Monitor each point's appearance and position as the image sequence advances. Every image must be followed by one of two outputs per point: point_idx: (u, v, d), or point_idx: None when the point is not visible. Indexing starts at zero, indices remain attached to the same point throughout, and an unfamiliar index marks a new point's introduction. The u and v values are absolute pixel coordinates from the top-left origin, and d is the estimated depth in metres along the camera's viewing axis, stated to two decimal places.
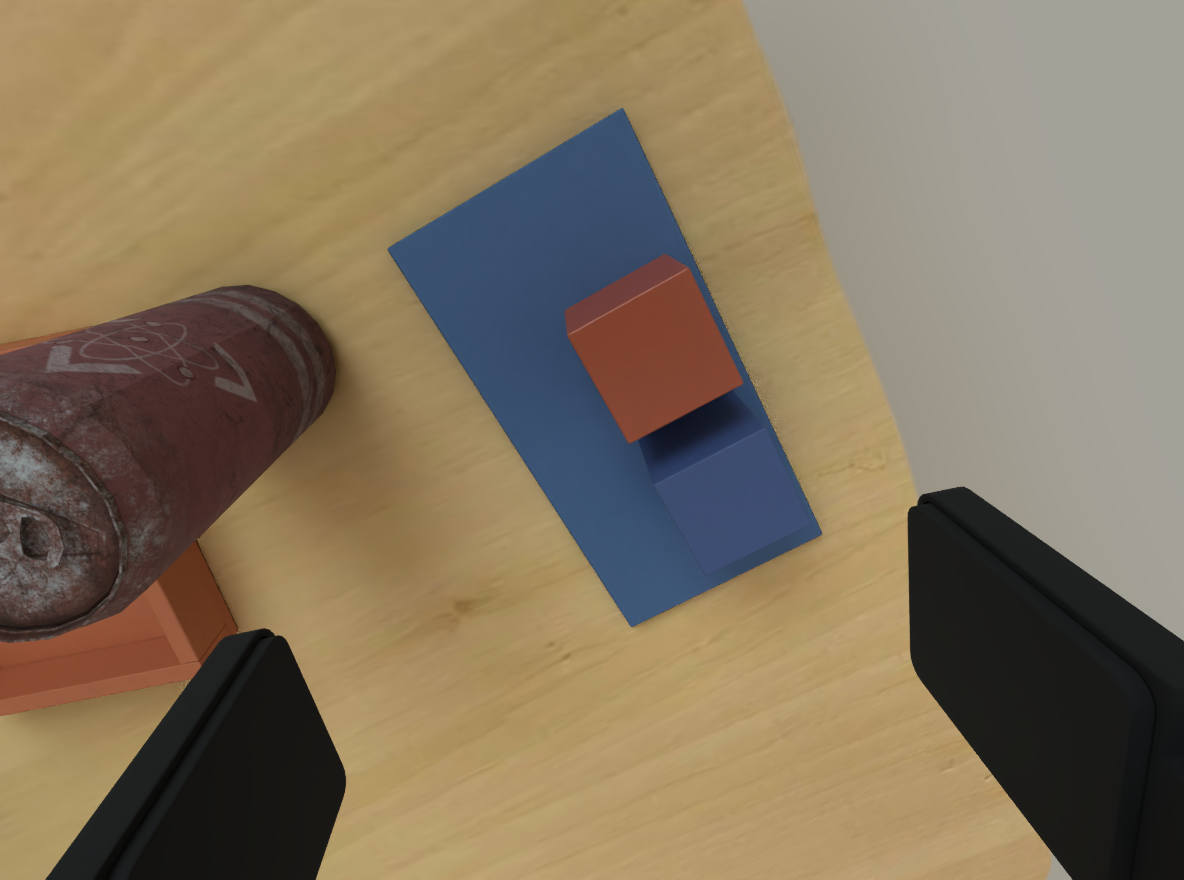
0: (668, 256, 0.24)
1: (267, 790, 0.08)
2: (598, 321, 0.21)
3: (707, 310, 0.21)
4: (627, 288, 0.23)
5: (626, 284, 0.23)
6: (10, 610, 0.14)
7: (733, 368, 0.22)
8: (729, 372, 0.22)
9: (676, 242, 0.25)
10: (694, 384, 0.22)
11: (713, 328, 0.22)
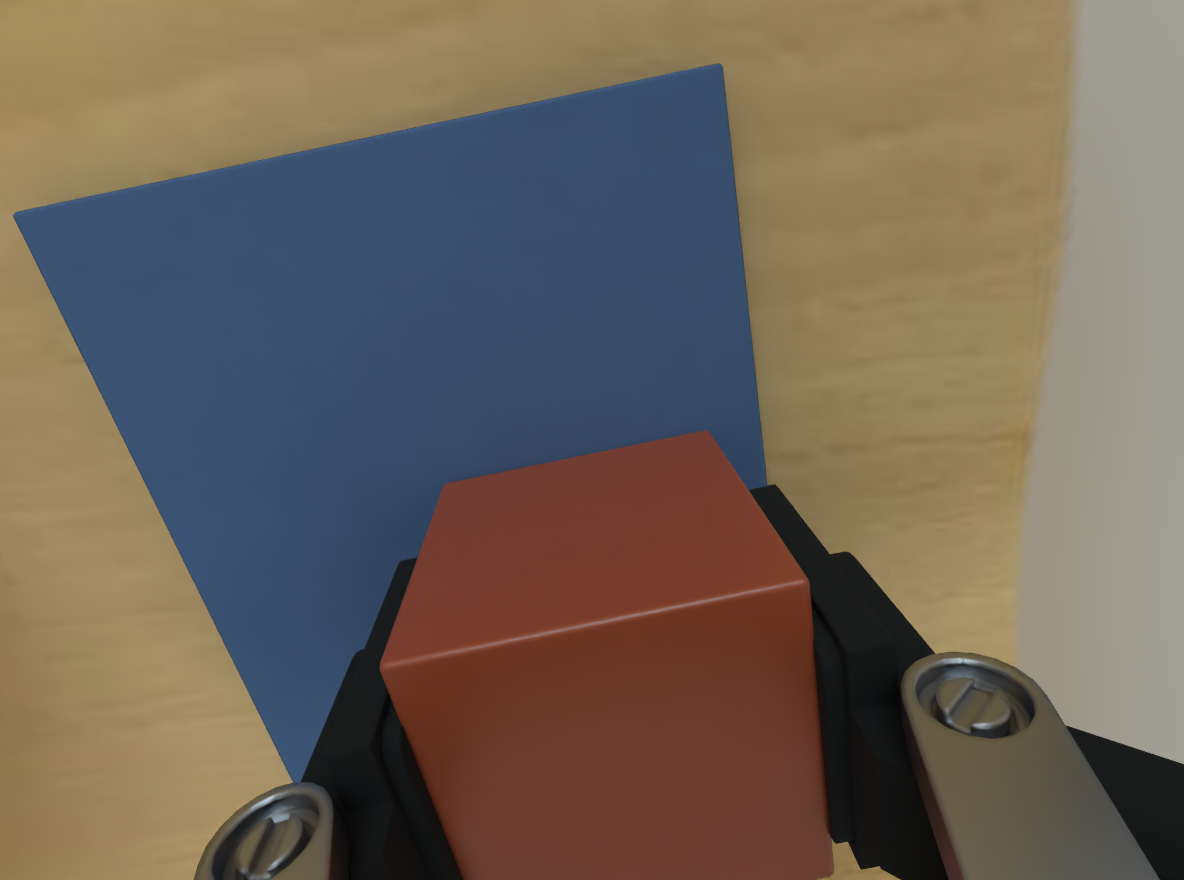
0: (719, 450, 0.10)
1: None
2: (487, 654, 0.07)
3: (815, 698, 0.07)
4: (603, 528, 0.08)
5: (603, 500, 0.09)
6: None
7: (824, 842, 0.08)
8: (810, 847, 0.08)
9: (740, 413, 0.11)
10: (709, 857, 0.08)
11: (813, 745, 0.07)
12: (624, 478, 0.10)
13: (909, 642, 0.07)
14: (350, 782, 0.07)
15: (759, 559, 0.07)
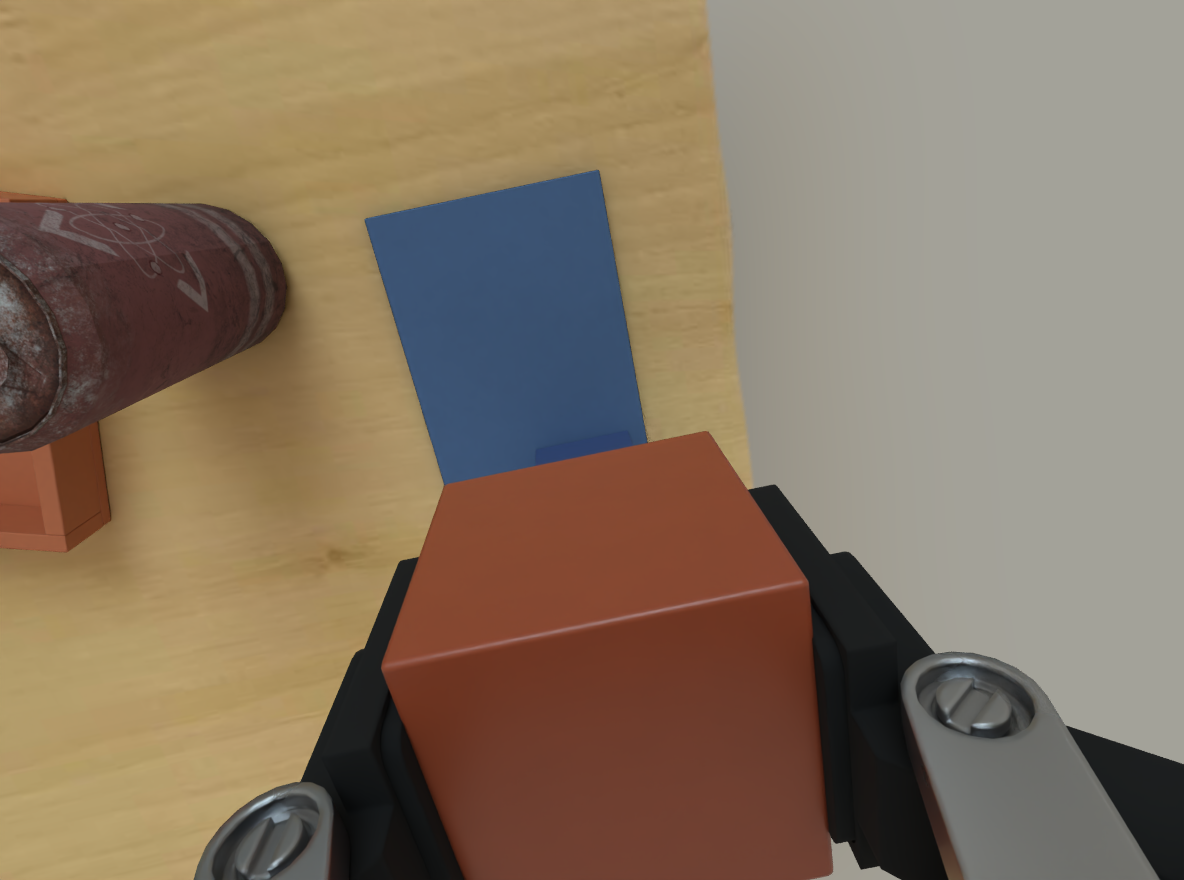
0: (719, 451, 0.10)
1: None
2: (489, 655, 0.07)
3: (814, 698, 0.07)
4: (604, 528, 0.08)
5: (603, 501, 0.09)
6: None
7: (823, 841, 0.08)
8: (809, 847, 0.08)
9: (613, 292, 0.29)
10: (708, 856, 0.08)
11: (811, 745, 0.07)
12: (624, 479, 0.10)
13: (910, 642, 0.07)
14: (350, 782, 0.07)
15: (759, 560, 0.07)
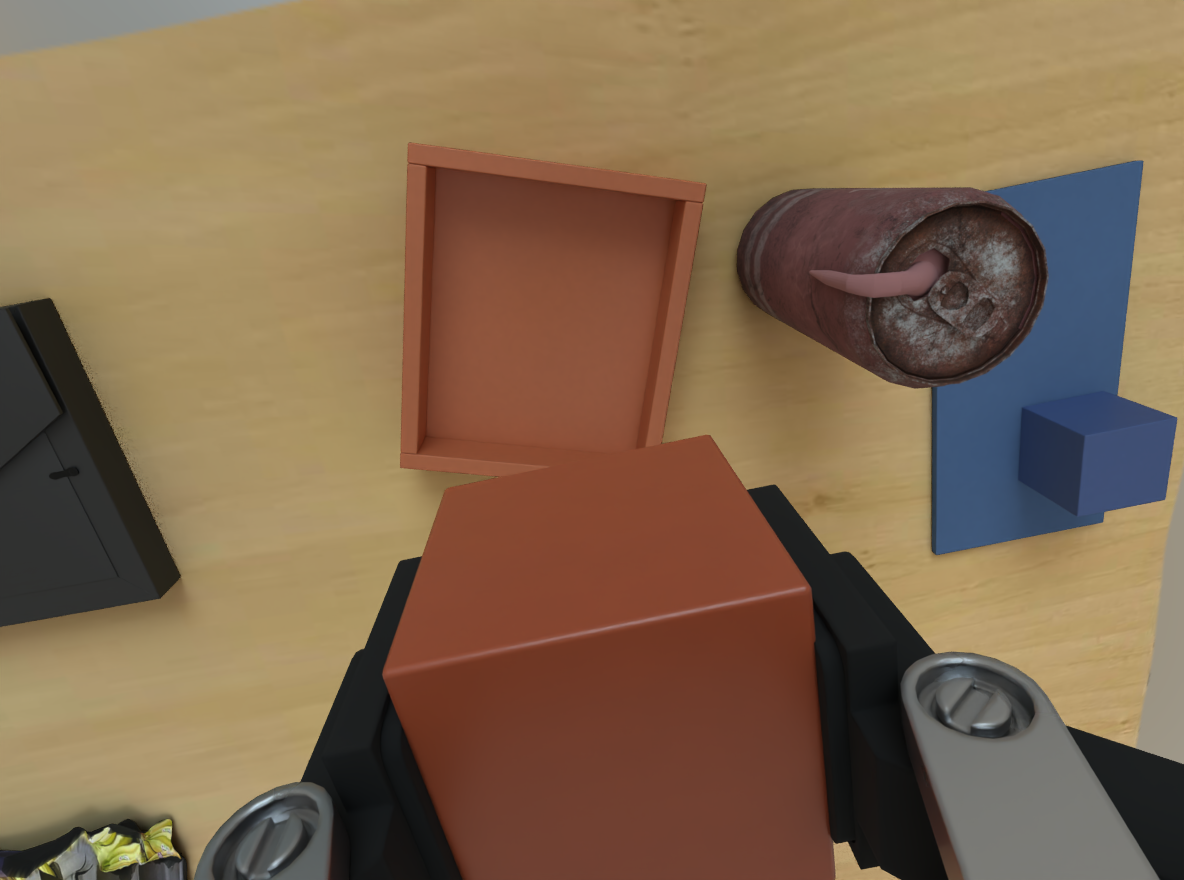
0: (721, 455, 0.10)
1: None
2: (490, 662, 0.07)
3: (816, 704, 0.07)
4: (605, 533, 0.08)
5: (605, 505, 0.09)
6: (911, 358, 0.20)
7: (826, 848, 0.08)
8: (812, 853, 0.08)
9: (1125, 268, 0.33)
10: (710, 862, 0.08)
11: (814, 751, 0.07)
12: (626, 483, 0.10)
13: (909, 642, 0.07)
14: (350, 782, 0.07)
15: (761, 566, 0.07)
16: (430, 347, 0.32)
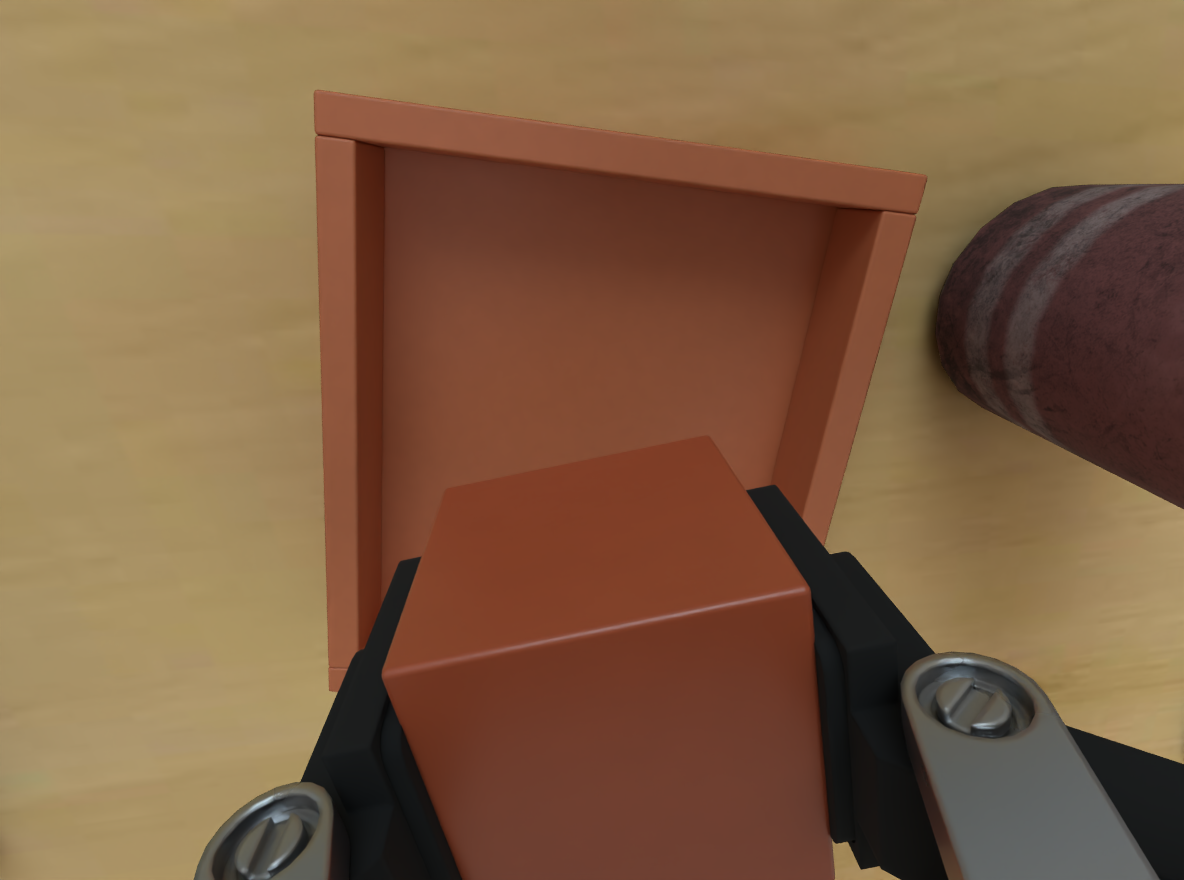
0: (720, 455, 0.10)
1: None
2: (489, 662, 0.07)
3: (816, 705, 0.07)
4: (604, 534, 0.08)
5: (604, 506, 0.09)
6: None
7: (825, 848, 0.08)
8: (811, 854, 0.08)
9: None
10: (710, 863, 0.08)
11: (813, 752, 0.07)
12: (625, 483, 0.10)
13: (910, 642, 0.07)
14: (350, 782, 0.07)
15: (760, 566, 0.07)
16: (384, 471, 0.18)
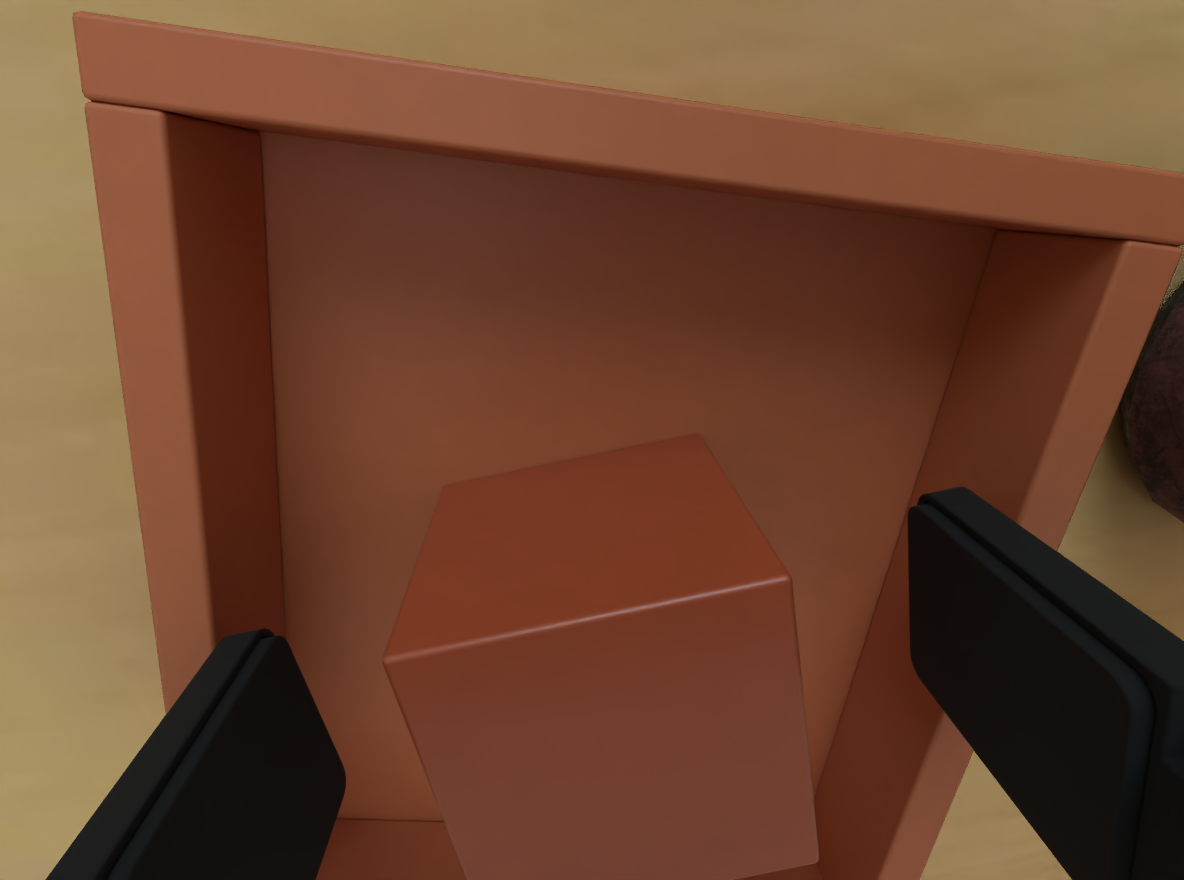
0: (710, 453, 0.10)
1: (267, 790, 0.08)
2: (485, 648, 0.07)
3: (798, 690, 0.07)
4: (597, 528, 0.09)
5: (597, 501, 0.09)
6: None
7: (809, 829, 0.08)
8: (795, 835, 0.08)
9: None
10: (698, 844, 0.08)
11: (796, 735, 0.08)
12: (618, 480, 0.10)
13: None
14: None
15: (745, 558, 0.07)
16: (288, 627, 0.12)
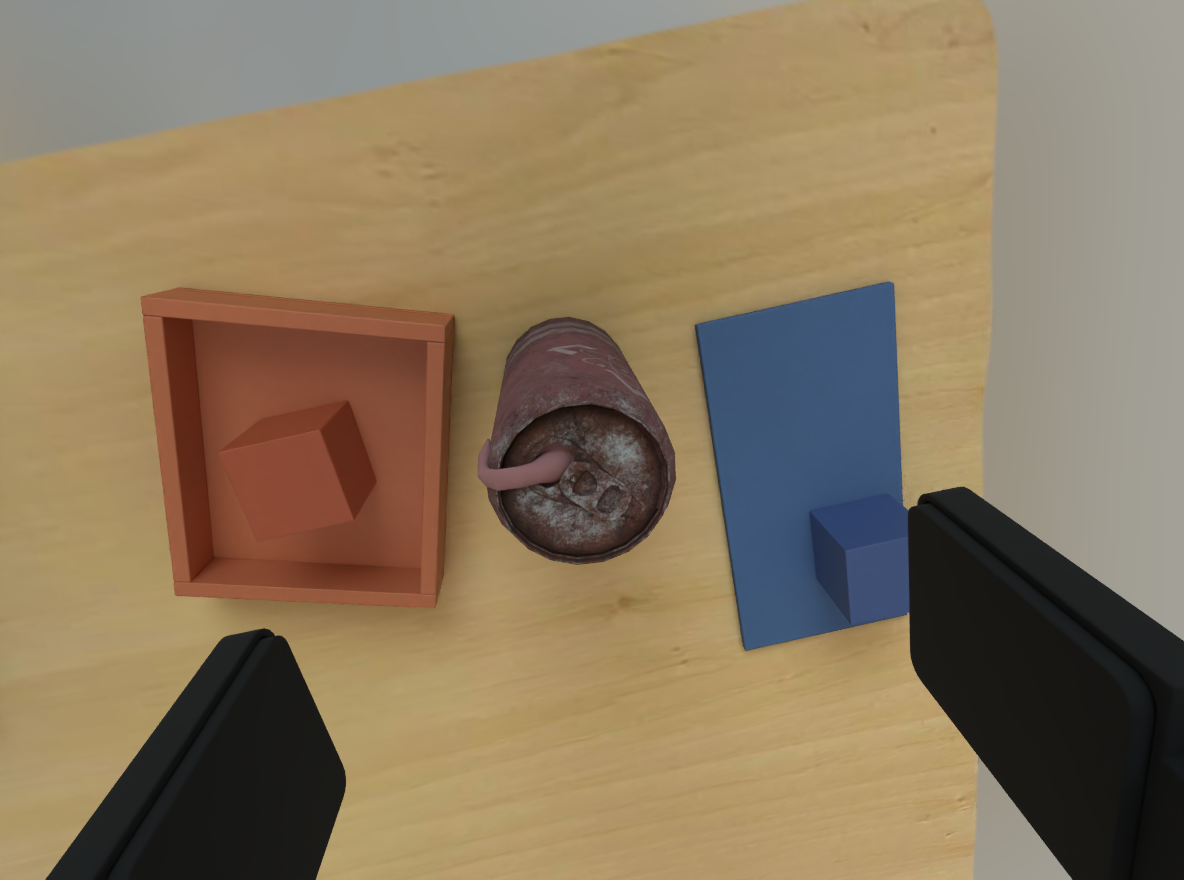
0: (341, 405, 0.31)
1: (267, 790, 0.08)
2: (243, 448, 0.28)
3: (331, 462, 0.28)
4: (289, 425, 0.29)
5: (297, 419, 0.30)
6: (555, 539, 0.21)
7: (346, 508, 0.29)
8: (343, 510, 0.29)
9: (892, 381, 0.34)
10: (314, 512, 0.29)
11: (334, 476, 0.29)
12: (308, 414, 0.31)
13: None
14: None
15: (314, 427, 0.28)
16: (207, 474, 0.33)
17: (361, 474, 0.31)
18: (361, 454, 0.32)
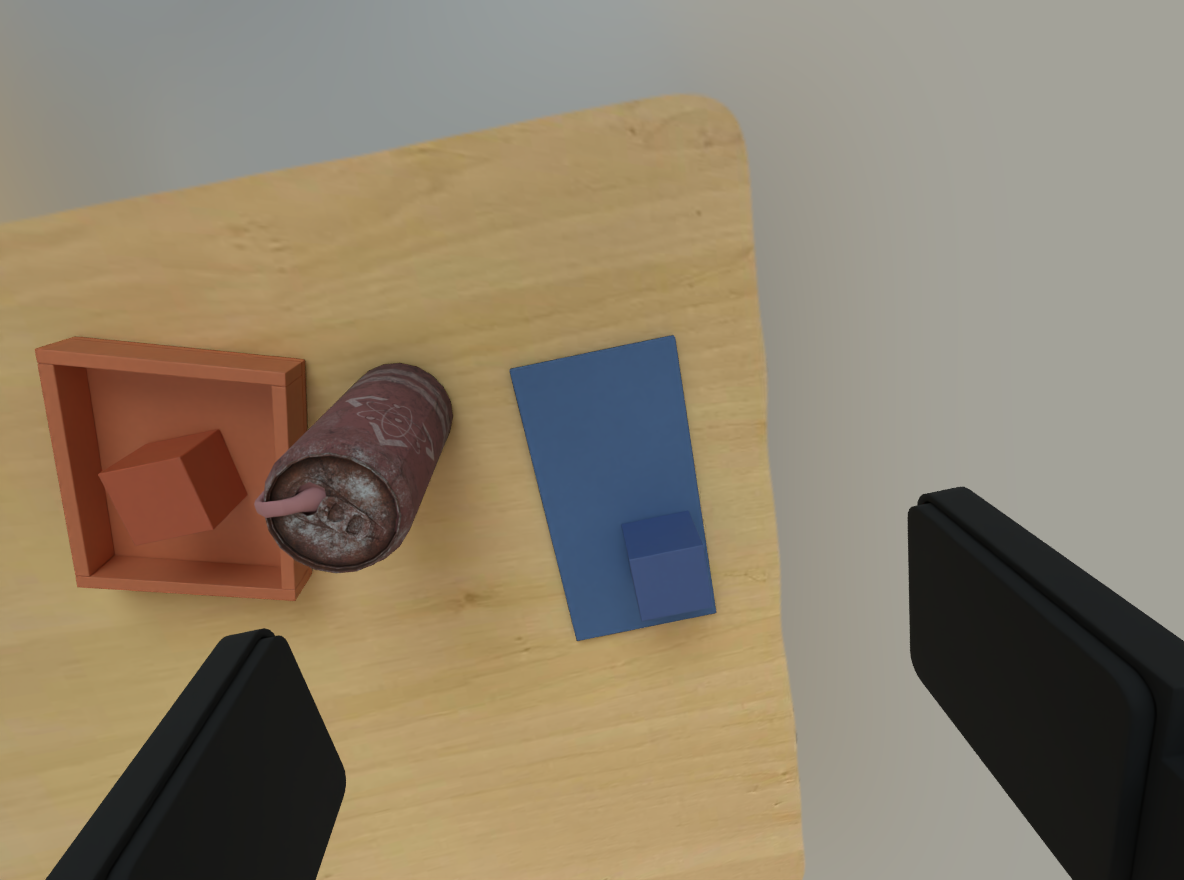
0: (210, 434, 0.38)
1: (267, 790, 0.08)
2: (118, 471, 0.35)
3: (190, 483, 0.35)
4: (162, 451, 0.36)
5: (170, 446, 0.37)
6: (319, 553, 0.28)
7: (206, 519, 0.36)
8: (203, 521, 0.36)
9: (681, 417, 0.40)
10: (180, 522, 0.36)
11: (193, 494, 0.35)
12: (182, 441, 0.37)
13: None
14: None
15: (177, 454, 0.35)
16: None
17: (227, 490, 0.38)
18: (230, 473, 0.39)
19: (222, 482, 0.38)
